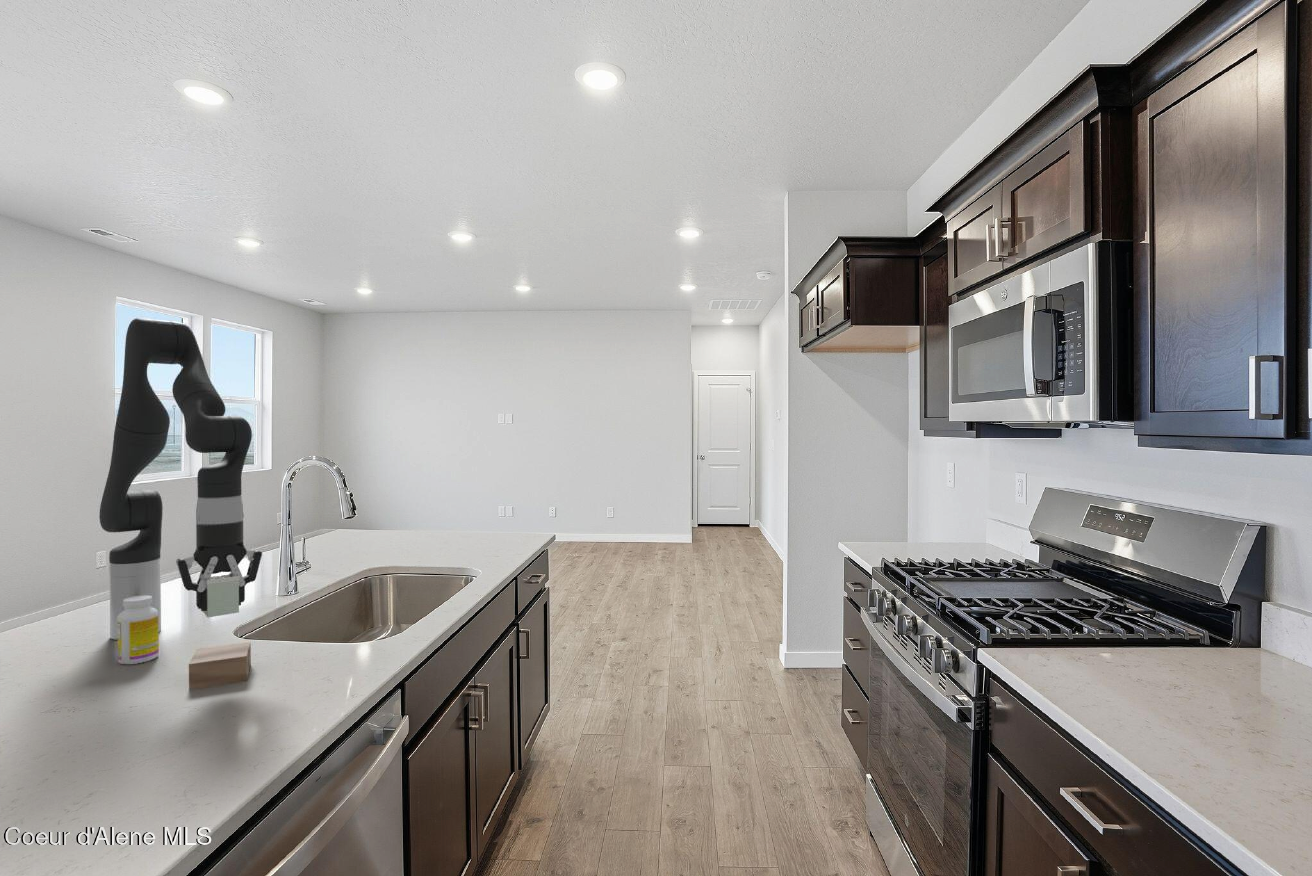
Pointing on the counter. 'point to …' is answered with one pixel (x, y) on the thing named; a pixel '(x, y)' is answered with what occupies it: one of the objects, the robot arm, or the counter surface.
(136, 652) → the supplement bottle
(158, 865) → the counter surface
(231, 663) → the walnut block
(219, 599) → the tea tin
